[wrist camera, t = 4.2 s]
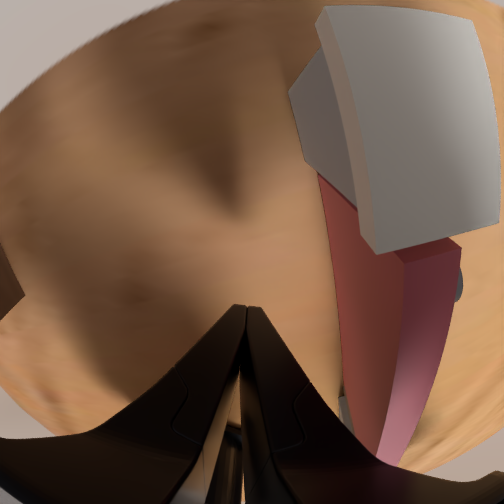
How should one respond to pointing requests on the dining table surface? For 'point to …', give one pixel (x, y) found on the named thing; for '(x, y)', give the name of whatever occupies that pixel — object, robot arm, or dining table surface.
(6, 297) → the block
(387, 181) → the pair of grey plates
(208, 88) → the dining table surface
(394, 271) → the door
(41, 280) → the dining table surface
